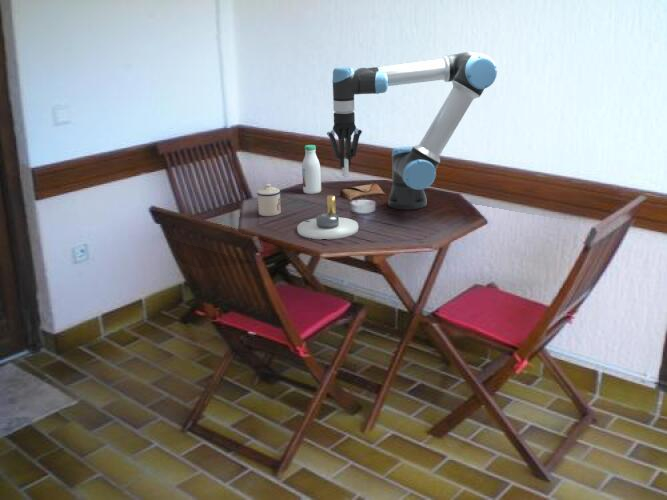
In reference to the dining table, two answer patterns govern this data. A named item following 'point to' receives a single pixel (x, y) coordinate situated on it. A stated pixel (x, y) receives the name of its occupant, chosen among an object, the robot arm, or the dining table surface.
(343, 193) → the sunglasses case
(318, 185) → the milk bottle
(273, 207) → the teacup with lid
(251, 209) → the dining table surface
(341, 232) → the dial plate
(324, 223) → the lever
